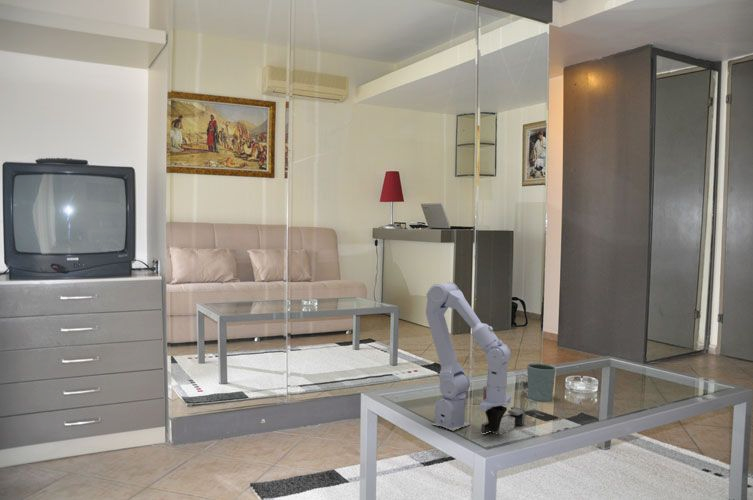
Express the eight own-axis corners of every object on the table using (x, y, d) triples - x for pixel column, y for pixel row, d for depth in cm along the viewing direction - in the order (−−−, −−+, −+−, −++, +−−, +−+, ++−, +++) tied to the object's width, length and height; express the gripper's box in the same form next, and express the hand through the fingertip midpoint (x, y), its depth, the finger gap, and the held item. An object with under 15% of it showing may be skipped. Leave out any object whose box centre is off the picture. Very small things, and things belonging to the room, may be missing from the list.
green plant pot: (554, 403, 218) (556, 370, 217) (525, 400, 220) (527, 367, 219) (552, 396, 228) (554, 364, 227) (524, 393, 230) (526, 361, 229)
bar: (499, 435, 181) (499, 423, 181) (492, 433, 183) (492, 421, 182) (514, 428, 188) (515, 417, 187) (507, 426, 189) (508, 415, 189)
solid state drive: (546, 422, 197) (546, 420, 197) (521, 414, 205) (521, 412, 205) (558, 419, 201) (558, 417, 201) (533, 410, 209) (533, 409, 209)
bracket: (493, 437, 178) (494, 421, 178) (481, 434, 181) (482, 418, 181) (524, 424, 192) (525, 409, 192) (512, 421, 195) (513, 406, 195)
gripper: (495, 392, 172) (492, 439, 173) (520, 384, 183) (517, 428, 183) (474, 387, 177) (471, 432, 178) (500, 379, 188) (497, 422, 188)
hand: (493, 430), depth 181 cm, fingers closed
